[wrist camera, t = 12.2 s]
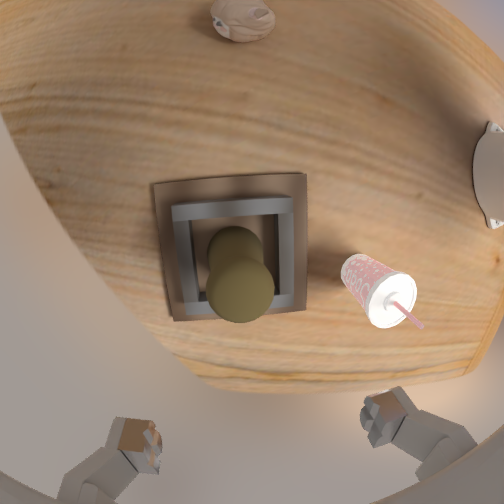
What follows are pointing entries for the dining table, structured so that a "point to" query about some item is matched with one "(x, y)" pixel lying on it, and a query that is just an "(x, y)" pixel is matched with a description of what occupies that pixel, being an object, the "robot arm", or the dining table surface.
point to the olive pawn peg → (238, 276)
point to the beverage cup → (380, 290)
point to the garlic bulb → (242, 19)
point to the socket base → (225, 215)
